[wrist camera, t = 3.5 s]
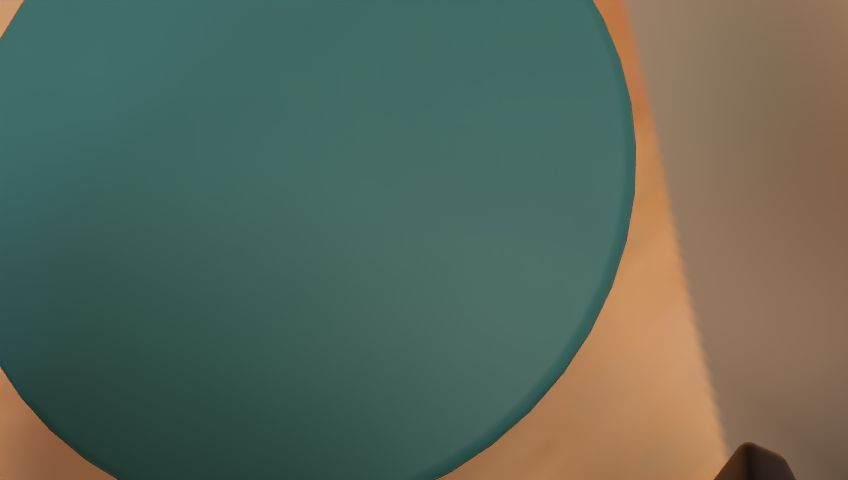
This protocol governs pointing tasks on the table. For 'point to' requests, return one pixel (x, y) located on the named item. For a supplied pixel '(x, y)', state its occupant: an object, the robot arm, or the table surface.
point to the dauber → (304, 226)
